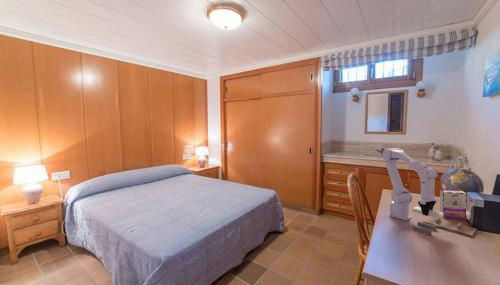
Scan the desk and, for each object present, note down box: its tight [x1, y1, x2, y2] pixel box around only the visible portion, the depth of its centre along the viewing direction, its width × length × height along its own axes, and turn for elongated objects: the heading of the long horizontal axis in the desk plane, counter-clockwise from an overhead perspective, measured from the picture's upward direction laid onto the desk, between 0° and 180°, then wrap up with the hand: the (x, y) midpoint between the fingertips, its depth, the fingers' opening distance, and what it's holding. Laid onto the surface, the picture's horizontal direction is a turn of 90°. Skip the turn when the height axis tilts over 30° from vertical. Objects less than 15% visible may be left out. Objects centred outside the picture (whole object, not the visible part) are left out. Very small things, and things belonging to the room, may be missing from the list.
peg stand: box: [422, 216, 478, 238], centre depth 116 cm, size 20×11×3 cm, turn 34°
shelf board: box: [412, 206, 444, 220], centre depth 113 cm, size 12×5×2 cm, turn 34°
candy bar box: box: [439, 189, 468, 220], centre depth 127 cm, size 11×5×16 cm, turn 68°
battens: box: [411, 221, 437, 236], centre depth 114 cm, size 8×10×2 cm
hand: (427, 213), depth 114 cm, fingers closed on shelf board, 5 cm apart
